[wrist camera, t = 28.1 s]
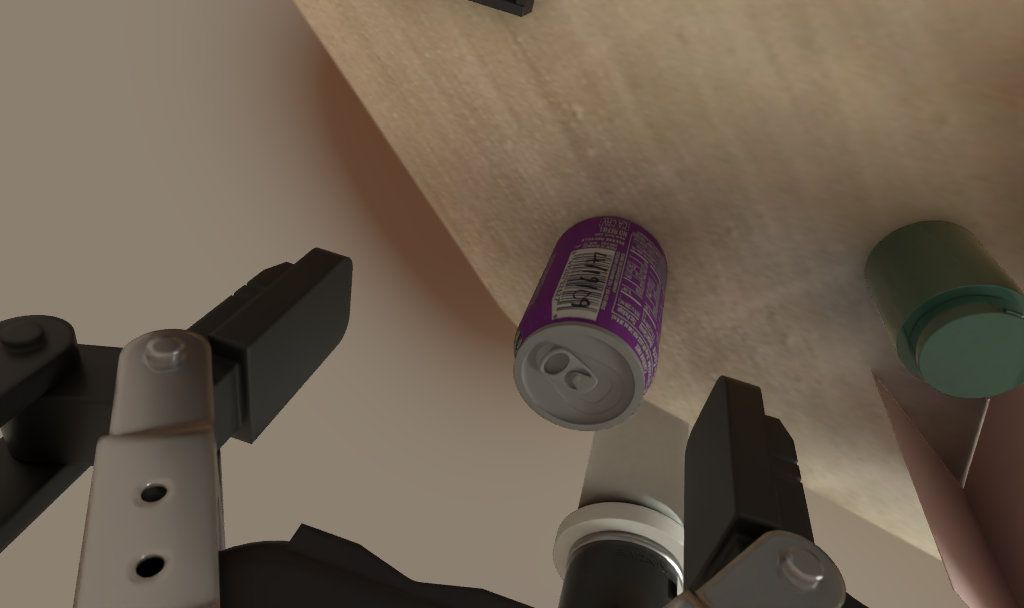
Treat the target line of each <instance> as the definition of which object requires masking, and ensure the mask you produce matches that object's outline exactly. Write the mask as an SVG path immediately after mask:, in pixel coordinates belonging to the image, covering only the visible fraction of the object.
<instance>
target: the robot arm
mask: <svg viewBox="0 0 1024 608" xmlns="http://www.w3.org/2000/svg"><path fill="white" fill-rule="evenodd" d="M352 267H353V265H352V260H351V259H350V258H349V257H346V256H343V255H339V254H336V253H333V252H330V251H327V250H324V249H320V248H314V249H312V250H311V251H310V252H309V253H307V254H306V255H305V256H304V257H303V258H301V259H300V260H299V261H298V262H296V263H295V264H291V263H289V262H285V263H282V264H279V265H276V266H273V267H271V268H268V269H265V270H263V271H262V272H260V273H259V274H258V275H257V276H255V277H254V278H253V279H251V280H250V281H249V282H248V283H247V285H244V286H242V287H241V288H240V289H238V290H237V291H236V292H235V293H234V295H233V296H232V295H231V296H230V297H228V298H227V299H226V300H224V301H223V302H222V303H220V304H219V305H218V306H217V307H215V308H214V309H213V310H212V311H210V312H209V313H208V314H206V315H205V316H204V317H203V318H201V319H200V320H199V321H197V322H196V323H195V324H193V326H191V327H190V328H188V329H187V330H182V329H165V330H158V331H153V332H149V333H147V334H144V335H141V336H139V337H137V338H136V339H134V340H132V341H131V342H129V343H128V344H127V345H126V346H125V347H124V348H118V347H106V346H95V345H83V344H77V340H76V336H75V332H74V329H73V327H72V325H71V324H69V323H68V322H67V321H65V320H63V319H60V318H57V317H53V316H45V315H30V316H21V317H15V318H11V319H7V320H4V321H1V322H0V428H1V431H2V434H3V437H2V438H1V439H0V553H1V552H2V551H3V550H4V549H5V548H6V547H7V546H8V545H9V544H10V543H11V542H12V541H13V540H14V539H15V538H17V536H19V535H20V533H22V532H23V531H24V530H25V529H26V528H27V527H28V526H29V525H30V524H31V523H32V522H33V521H34V520H35V519H36V518H37V517H38V516H39V515H40V514H41V513H42V512H43V511H44V510H45V509H46V508H47V507H48V506H50V504H52V503H53V502H54V501H55V499H57V498H58V497H59V496H60V495H61V494H62V493H63V492H64V491H65V490H66V489H67V488H68V487H69V486H70V485H71V484H72V483H73V482H74V481H75V480H76V479H78V477H80V476H81V474H83V473H84V472H85V471H86V470H87V469H88V468H89V467H90V466H94V467H93V475H92V481H91V488H90V495H89V502H88V508H87V515H86V522H85V529H84V536H83V542H82V550H81V556H80V563H79V570H78V577H77V584H76V590H75V597H74V604H73V608H534V607H531V606H528V605H526V604H523V603H520V602H517V601H514V600H512V599H509V598H506V597H504V596H501V595H498V594H495V593H493V592H490V591H487V590H484V589H479V588H470V587H460V586H451V585H441V584H431V583H422V582H416V581H413V580H411V579H409V578H408V577H406V576H404V575H403V574H402V573H400V572H399V571H397V570H396V569H395V568H393V567H392V566H390V565H389V564H387V563H386V562H384V561H383V560H381V559H380V558H379V557H377V556H376V555H374V554H373V553H371V552H370V551H368V550H367V549H366V548H364V547H363V546H361V545H360V544H357V543H355V542H352V541H349V540H346V539H344V538H341V537H338V536H335V535H333V534H330V533H327V532H324V531H322V530H319V529H316V528H313V527H310V526H307V525H305V524H301V525H300V527H299V528H298V530H297V531H296V533H295V534H294V536H293V537H292V539H291V540H290V541H262V542H253V543H247V544H243V545H239V546H234V547H231V548H228V549H226V547H225V531H224V511H223V510H224V509H223V490H222V469H221V453H220V448H221V447H222V445H224V443H225V442H226V441H227V440H228V439H229V438H230V437H233V438H236V439H239V440H241V441H244V442H247V443H250V444H252V443H253V442H254V441H255V440H256V439H257V437H258V436H259V435H260V434H261V433H262V432H263V430H264V429H265V428H266V427H267V426H268V425H269V423H270V422H271V421H272V420H273V419H274V418H275V417H276V415H277V414H278V413H279V412H280V411H281V410H282V408H283V407H284V406H285V405H286V404H287V403H288V402H289V400H290V399H291V398H292V397H293V396H294V395H295V394H296V392H297V391H298V390H299V389H300V388H301V387H302V385H303V384H304V383H305V382H306V381H307V380H308V379H309V377H310V376H311V375H312V374H313V373H314V372H315V370H316V369H317V368H318V367H319V366H320V365H321V364H322V362H323V361H324V360H325V359H326V358H327V357H328V355H329V354H330V353H331V352H332V351H333V350H334V349H335V347H336V346H337V345H338V344H339V343H340V341H341V340H342V338H343V336H344V334H345V331H346V329H347V326H348V322H349V315H350V301H351V286H352V270H353V268H352ZM797 462H798V460H797V455H796V450H795V445H794V441H793V439H792V438H791V436H790V435H789V433H788V432H787V430H786V429H785V427H784V426H783V424H782V423H781V421H780V420H779V419H777V418H774V417H771V416H768V415H765V412H764V405H763V399H762V393H761V389H760V387H758V386H755V385H752V384H749V383H746V382H742V381H739V380H736V379H733V378H730V377H726V376H723V375H722V376H721V377H719V379H718V380H717V381H716V383H715V385H714V387H713V389H712V391H711V393H710V395H709V397H708V399H707V401H706V403H705V405H704V407H703V409H702V411H701V413H700V415H699V417H698V419H697V421H696V423H695V425H694V427H693V429H692V431H691V433H690V437H689V439H688V443H687V447H686V452H685V484H684V571H683V569H682V566H681V564H680V563H679V561H678V560H677V558H676V557H675V556H674V555H673V554H672V553H671V552H670V551H669V550H668V549H666V548H665V547H664V546H662V545H661V544H659V543H657V542H655V541H653V540H651V539H649V538H647V537H644V536H641V535H638V534H635V533H630V532H625V531H614V530H608V531H598V532H594V533H591V534H588V535H585V536H583V537H581V538H580V539H578V540H577V541H576V542H575V543H574V544H573V545H572V547H571V548H570V550H569V553H568V558H567V563H566V573H565V578H564V583H563V588H562V592H561V596H560V601H559V606H558V608H868V607H867V606H865V605H863V604H862V603H860V602H859V601H857V600H856V599H854V598H853V597H852V596H850V595H849V594H848V593H847V592H846V587H845V582H844V580H843V577H842V575H841V573H840V571H839V569H838V568H837V566H836V565H835V563H834V562H833V561H832V560H831V558H830V557H829V556H828V555H827V554H826V553H825V552H824V551H823V550H822V549H821V548H819V547H818V546H817V545H815V543H814V538H813V533H812V529H811V524H810V519H809V514H808V509H807V504H806V499H805V494H804V490H803V484H802V483H800V481H801V475H800V470H799V466H798V465H797Z"/></svg>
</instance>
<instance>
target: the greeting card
mask: <svg viewBox="0 0 1024 608" xmlns="http://www.w3.org/2000/svg"><path fill="white" fill-rule="evenodd" d="M871 372H872V370H871ZM872 375H873V378H874V380H875V383H876V386H877V388H878V391H879V393H880V396H881V399H882V401H883V404H884V407H885V409H886V412H887V415H888V417H889V420H890V423H891V425H892V428H893V431H894V433H895V436H896V439H897V441H898V444H899V447H900V449H901V452H902V455H903V457H904V460H905V463H906V465H907V468H908V471H909V473H910V476H911V479H912V481H913V484H914V487H915V489H916V492H917V495H918V497H919V500H920V503H921V505H922V508H923V511H924V513H925V516H926V519H927V521H928V524H929V527H930V529H931V532H932V535H933V537H934V540H935V542H936V545H937V548H938V550H939V553H940V556H941V558H942V561H943V564H944V566H945V569H946V572H947V574H948V577H949V580H950V582H951V585H952V588H953V590H954V591H955V592H956V593H957V594H958V596H959V597H960V598H961V599H962V601H963V602H964V603H965V604H966V605H967V606H968V608H1024V383H1023V384H1021V385H1020V386H1018V387H1016V388H1014V389H1012V390H1010V391H1008V392H1005V393H1003V394H1000V395H996V396H992V397H991V399H990V402H989V405H988V408H987V412H986V415H985V418H984V422H983V425H982V428H981V432H980V435H979V438H978V441H977V445H976V448H975V451H974V455H973V458H972V461H971V465H970V468H969V471H968V475H967V478H966V481H965V484H964V488H962V487H961V485H960V484H959V483H958V482H957V480H956V479H955V478H954V476H953V475H952V474H951V473H950V471H949V470H948V469H947V467H946V466H945V465H944V463H943V462H942V461H941V460H940V458H939V457H938V456H937V454H936V453H935V452H934V451H933V449H932V448H931V447H930V445H929V444H928V443H927V441H926V440H925V439H924V438H923V436H922V435H921V434H920V432H919V431H918V430H917V429H916V427H915V426H914V425H913V423H912V422H911V421H910V420H909V418H908V417H907V416H906V414H905V413H904V412H903V410H902V409H901V408H900V407H899V405H898V404H897V403H896V401H895V400H894V399H893V398H892V396H891V395H890V394H889V392H888V391H887V390H886V388H885V387H884V386H883V385H882V383H881V382H880V381H879V379H878V378H877V377H876V376H875V374H874V373H873V372H872Z"/></svg>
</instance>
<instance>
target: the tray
mask: <svg viewBox="0 0 1024 608" xmlns="http://www.w3.org/2000/svg"><path fill="white" fill-rule="evenodd" d="M469 1H473V2H476V3H479V4H482V5H485V6H489V7H492V8H495V9H498V10H501V11H504V12H508V13H511V14H514V15H517V16H520V17H523V16H525V15H527V14H529V13H531V12H532V7H533V3H534V0H469Z"/></svg>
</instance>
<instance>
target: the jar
mask: <svg viewBox="0 0 1024 608" xmlns="http://www.w3.org/2000/svg"><path fill="white" fill-rule="evenodd" d="M864 276H865V282H866V286H867V288H868V290H869V292H870V295H871V297H872V299H873V301H874V303H875V306H876V308H877V310H878V312H879V314H880V317H881V319H882V321H883V323H884V325H885V328H886V330H887V332H888V334H889V336H890V339H891V341H892V343H893V345H894V347H895V350H896V352H897V354H898V356H899V358H900V360H901V362H902V363H903V365H904V366H905V367H906V368H907V369H908V370H909V371H910V372H911V373H912V374H914V375H915V376H917V377H918V378H920V379H922V380H924V381H925V382H926V383H927V384H928V385H930V386H931V387H932V388H934V389H935V390H937V391H939V392H941V393H943V394H946V395H949V396H953V397H958V398H966V399H978V398H987V397H992V396H996V395H1000V394H1003V393H1005V392H1008V391H1010V390H1012V389H1014V388H1016V387H1018V386H1020V385H1021V384H1023V383H1024V292H1023V291H1022V290H1021V289H1020V287H1019V286H1018V285H1017V284H1016V283H1015V282H1014V281H1013V279H1012V278H1011V277H1010V276H1009V275H1008V274H1007V273H1006V271H1005V270H1004V269H1003V268H1002V267H1001V266H1000V265H999V263H998V262H997V261H996V260H995V259H994V258H993V257H992V255H991V254H990V253H989V252H988V251H987V250H986V249H985V247H984V246H983V245H982V244H981V243H980V242H979V241H978V239H977V238H976V237H975V236H974V235H973V234H972V233H971V232H969V231H968V230H967V229H965V228H963V227H961V226H958V225H956V224H953V223H949V222H942V221H926V222H919V223H914V224H911V225H907V226H905V227H902V228H900V229H898V230H896V231H894V232H892V233H891V234H889V235H888V236H886V237H885V238H884V239H883V240H882V241H880V242H879V243H878V245H877V246H876V247H875V248H874V249H873V251H872V252H871V254H870V256H869V257H868V260H867V262H866V266H865V274H864Z"/></svg>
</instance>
